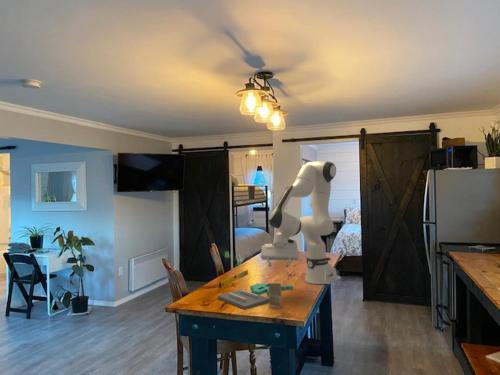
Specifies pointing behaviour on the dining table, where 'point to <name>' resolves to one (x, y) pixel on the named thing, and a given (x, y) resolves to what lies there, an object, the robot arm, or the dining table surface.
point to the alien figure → (265, 288)
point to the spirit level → (233, 278)
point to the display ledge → (243, 299)
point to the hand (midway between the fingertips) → (278, 266)
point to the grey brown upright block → (275, 294)
